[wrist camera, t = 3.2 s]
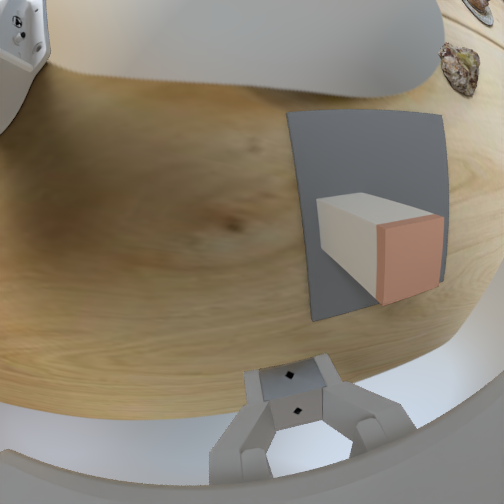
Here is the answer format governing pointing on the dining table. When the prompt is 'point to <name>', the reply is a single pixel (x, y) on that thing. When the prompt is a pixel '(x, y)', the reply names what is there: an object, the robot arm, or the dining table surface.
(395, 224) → the cream block
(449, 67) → the mineral rock
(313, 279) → the rubber mat
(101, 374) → the dining table surface
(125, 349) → the dining table surface
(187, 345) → the dining table surface
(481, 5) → the pastry
